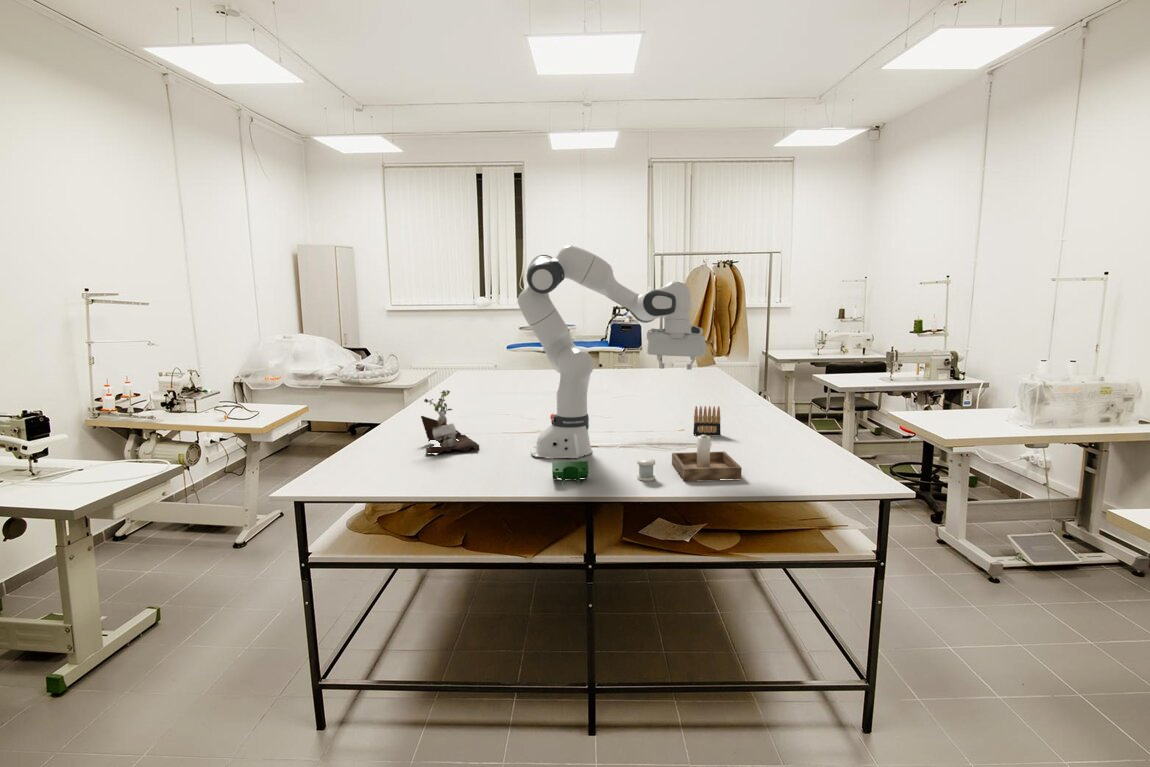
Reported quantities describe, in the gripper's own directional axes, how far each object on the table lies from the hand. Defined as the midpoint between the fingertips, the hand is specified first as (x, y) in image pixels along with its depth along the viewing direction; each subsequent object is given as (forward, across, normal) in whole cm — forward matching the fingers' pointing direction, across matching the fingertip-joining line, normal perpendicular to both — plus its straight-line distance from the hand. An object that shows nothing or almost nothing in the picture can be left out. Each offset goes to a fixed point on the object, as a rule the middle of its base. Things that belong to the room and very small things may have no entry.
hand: (675, 369), depth 205 cm
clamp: (+38, -35, -21) cm, 55 cm away
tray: (+34, +9, -13) cm, 37 cm away
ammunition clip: (+25, +19, +34) cm, 46 cm away
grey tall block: (+32, +8, -11) cm, 35 cm away
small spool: (+36, -11, -19) cm, 42 cm away
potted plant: (+33, -82, +20) cm, 90 cm away
